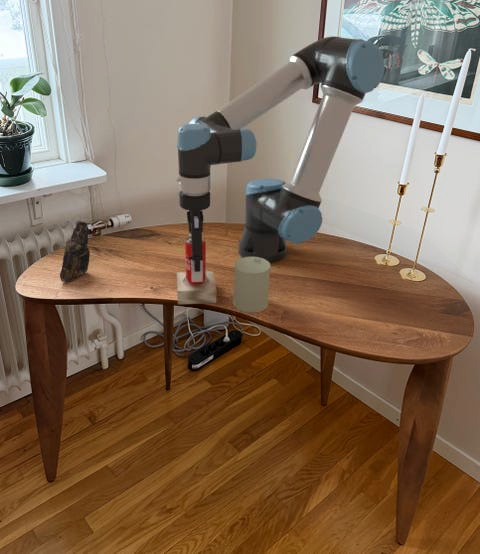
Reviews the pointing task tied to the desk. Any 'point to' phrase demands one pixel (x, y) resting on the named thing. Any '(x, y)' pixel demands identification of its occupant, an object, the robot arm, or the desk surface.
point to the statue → (76, 254)
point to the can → (251, 284)
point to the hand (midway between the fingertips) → (195, 268)
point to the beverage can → (188, 262)
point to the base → (196, 290)
